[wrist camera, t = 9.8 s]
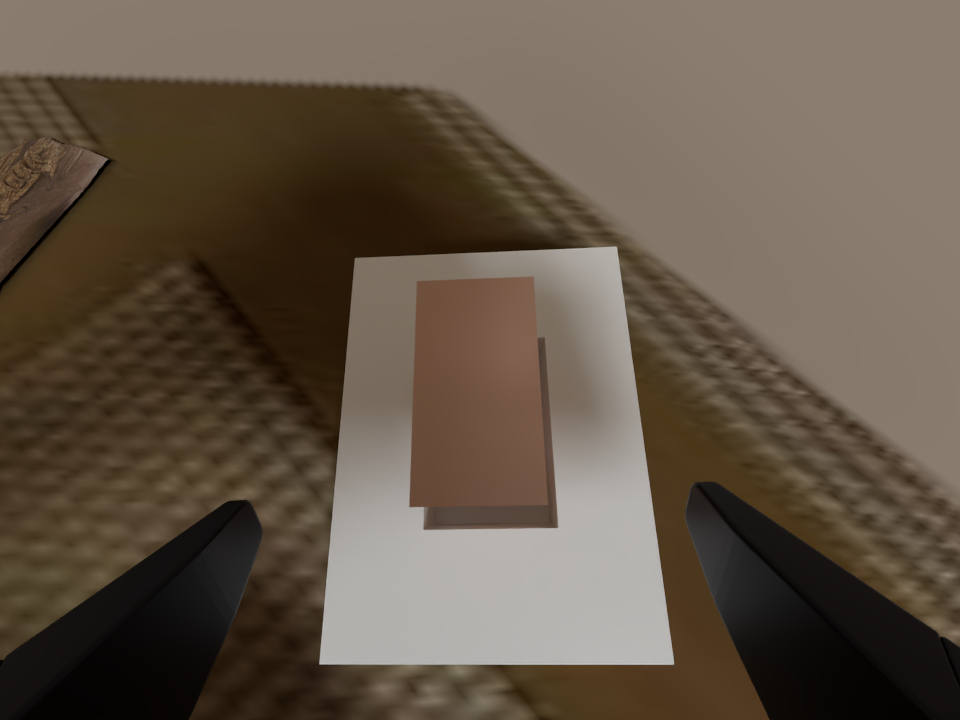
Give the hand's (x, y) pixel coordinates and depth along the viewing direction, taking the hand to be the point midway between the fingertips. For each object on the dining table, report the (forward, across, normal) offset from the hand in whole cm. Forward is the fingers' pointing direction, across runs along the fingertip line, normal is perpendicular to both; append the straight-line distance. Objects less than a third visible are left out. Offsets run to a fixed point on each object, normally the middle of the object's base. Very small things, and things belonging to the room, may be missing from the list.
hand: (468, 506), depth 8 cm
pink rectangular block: (+9, 0, +6) cm, 11 cm away
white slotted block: (+10, 0, +6) cm, 12 cm away
